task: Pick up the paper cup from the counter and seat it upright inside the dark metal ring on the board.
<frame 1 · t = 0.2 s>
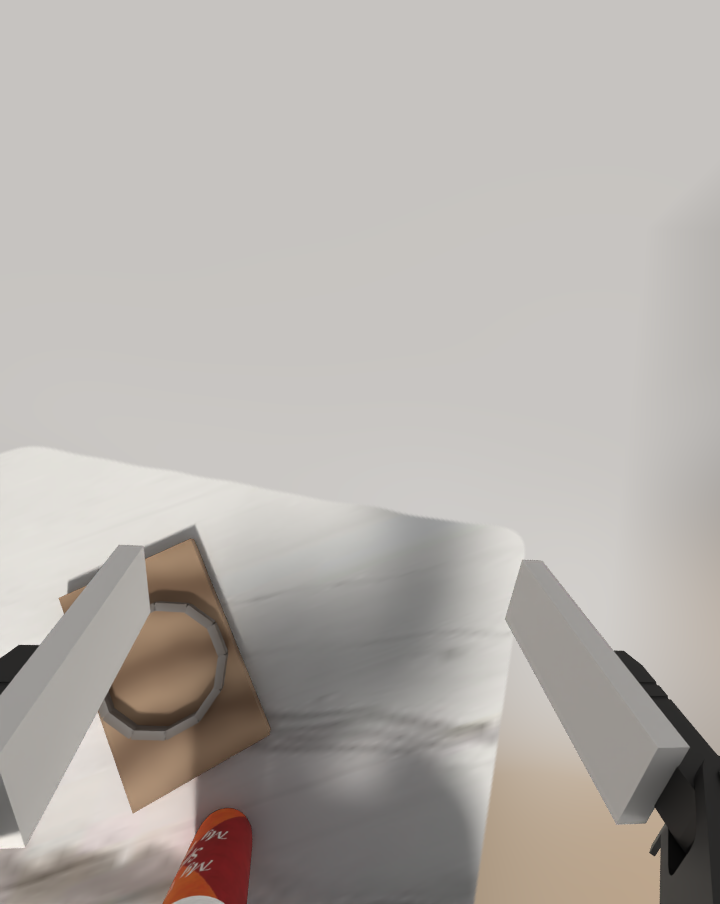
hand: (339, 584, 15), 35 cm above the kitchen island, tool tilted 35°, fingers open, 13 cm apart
seat board: (168, 662, 44), on the kitchen island
paper cup: (224, 839, 42), on the kitchen island
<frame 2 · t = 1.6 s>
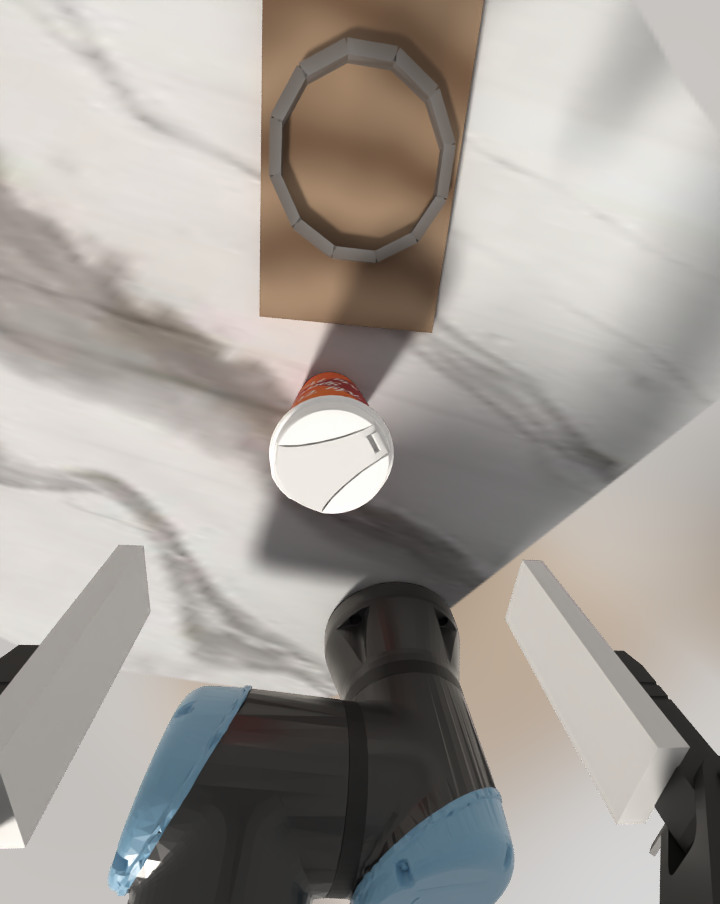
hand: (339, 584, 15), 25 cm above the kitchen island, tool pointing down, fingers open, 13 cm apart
seat board: (359, 169, 31), on the kitchen island
paper cup: (328, 402, 38), on the kitchen island
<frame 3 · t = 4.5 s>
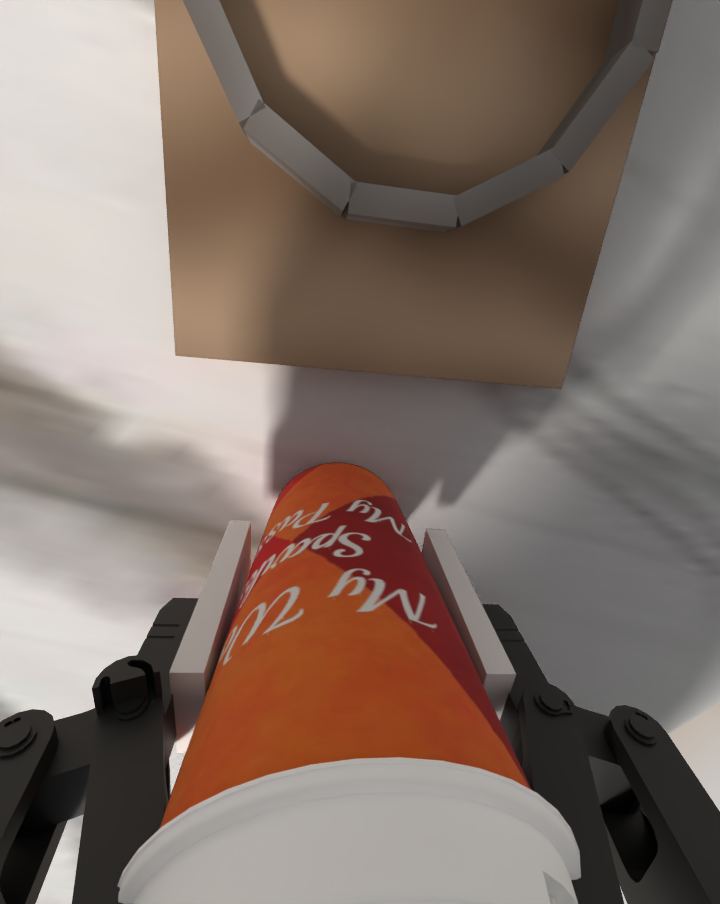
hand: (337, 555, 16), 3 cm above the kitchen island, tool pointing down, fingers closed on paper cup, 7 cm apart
paper cup: (334, 516, 19), on the kitchen island, touching gripper
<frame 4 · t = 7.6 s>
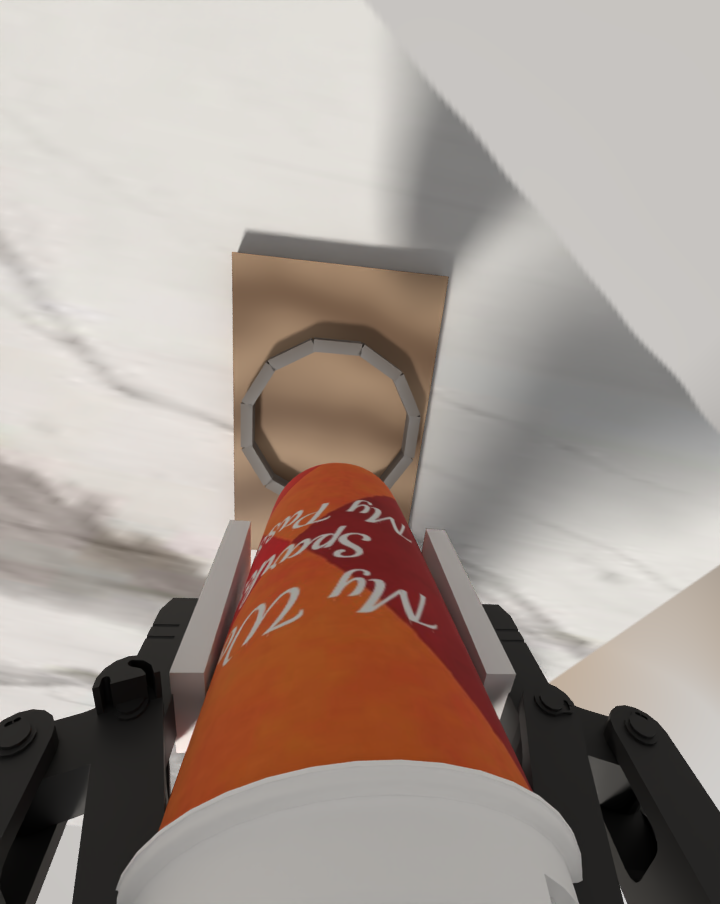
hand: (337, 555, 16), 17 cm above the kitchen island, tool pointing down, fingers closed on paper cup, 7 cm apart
seat board: (330, 420, 32), on the kitchen island
paper cup: (334, 516, 19), point 14 cm above the kitchen island, touching gripper
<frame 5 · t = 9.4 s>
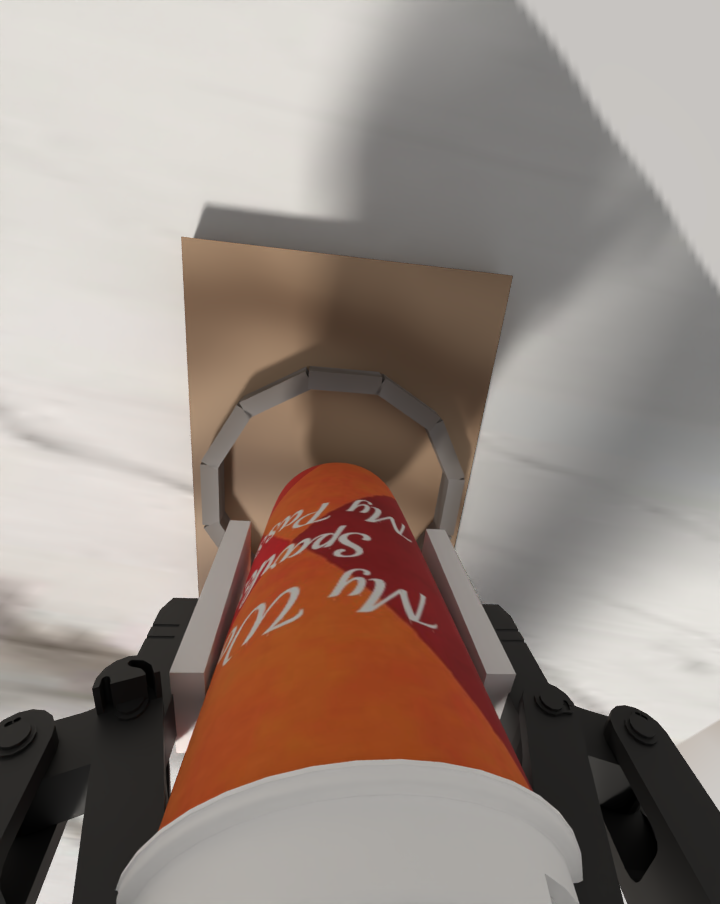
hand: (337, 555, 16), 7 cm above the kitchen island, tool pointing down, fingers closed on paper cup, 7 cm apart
seat board: (333, 478, 23), on the kitchen island
paper cup: (334, 516, 19), point 4 cm above the kitchen island, touching gripper
when the fingers open (6 cm above the kitchen island, at t = 10.4 s): paper cup drops 2 cm, resting on seat board.
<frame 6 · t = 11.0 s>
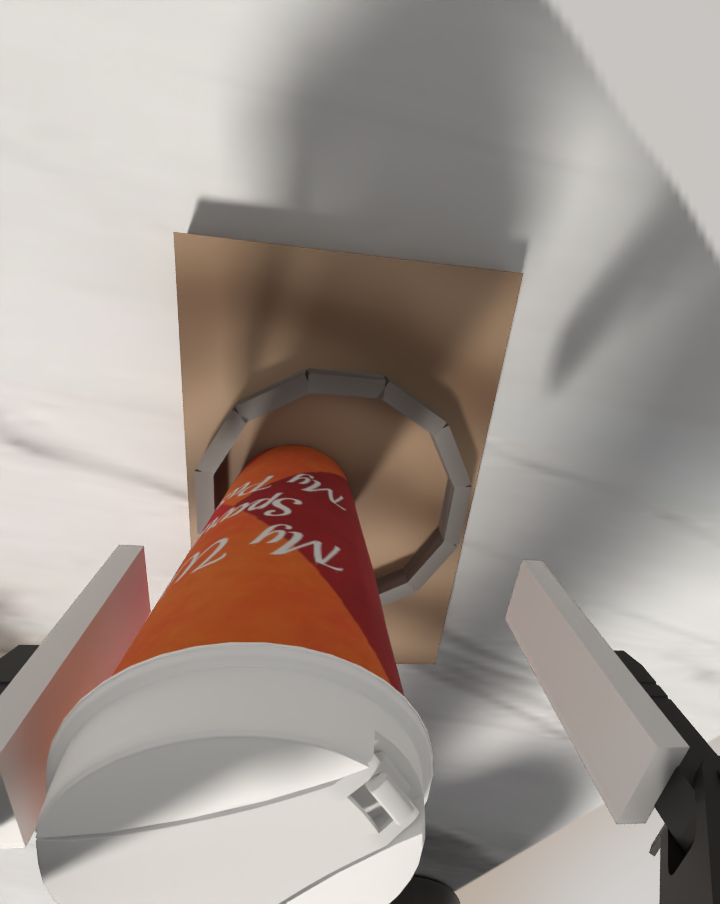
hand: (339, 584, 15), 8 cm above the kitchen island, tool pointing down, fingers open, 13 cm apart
seat board: (334, 484, 22), on the kitchen island
paper cup: (292, 495, 21), point 1 cm above the kitchen island, touching seat board
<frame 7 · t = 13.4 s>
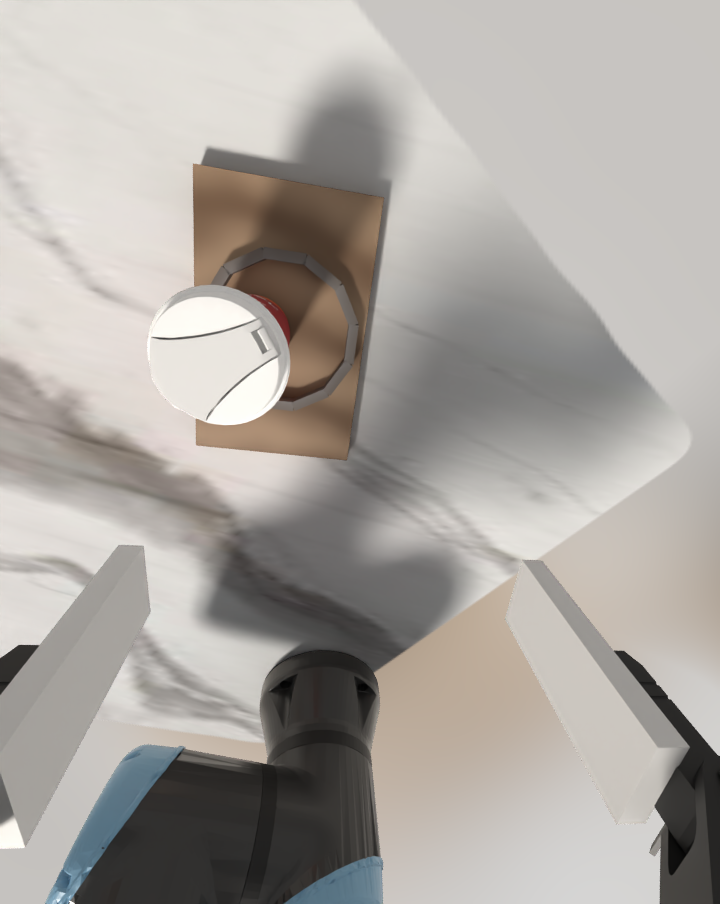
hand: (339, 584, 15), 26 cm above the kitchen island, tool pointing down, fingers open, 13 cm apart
seat board: (282, 331, 36), on the kitchen island
paper cup: (256, 330, 35), point 1 cm above the kitchen island, touching seat board
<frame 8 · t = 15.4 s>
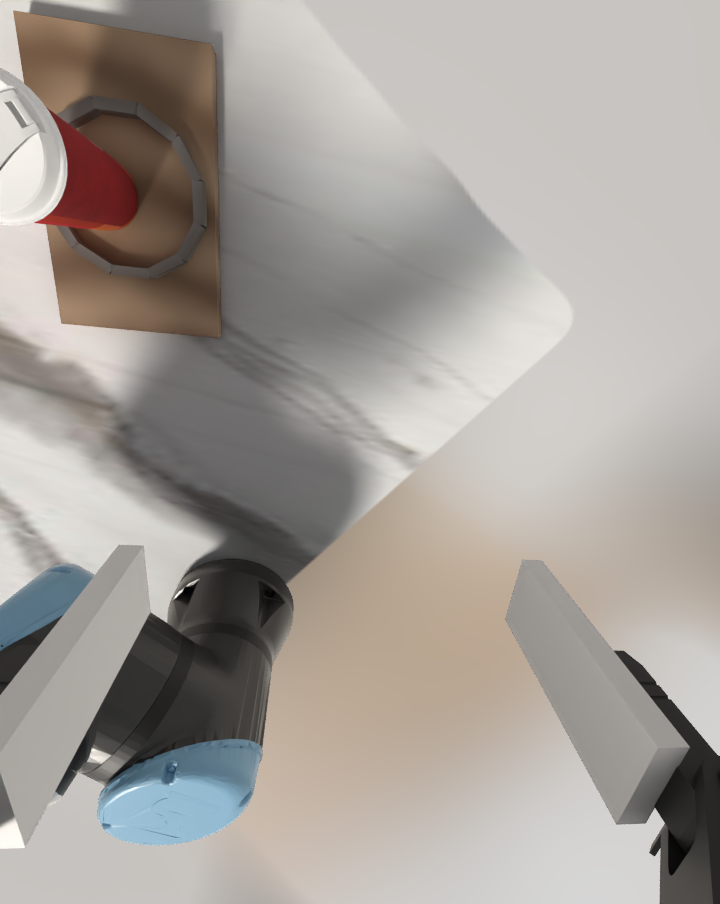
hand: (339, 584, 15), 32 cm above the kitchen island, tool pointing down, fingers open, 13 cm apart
seat board: (136, 199, 36), on the kitchen island
paper cup: (104, 194, 35), point 1 cm above the kitchen island, touching seat board
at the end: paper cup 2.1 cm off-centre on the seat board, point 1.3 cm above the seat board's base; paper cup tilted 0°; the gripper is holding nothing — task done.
